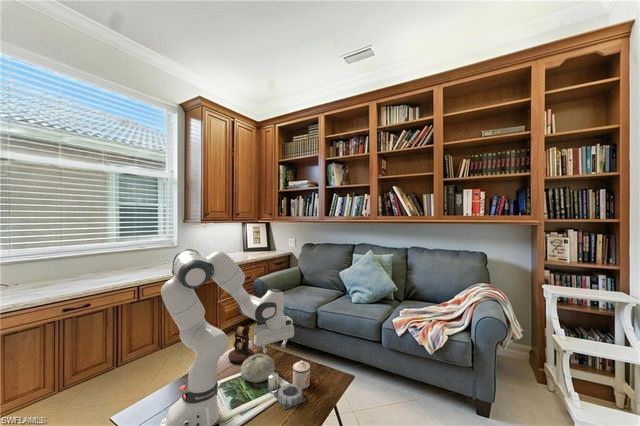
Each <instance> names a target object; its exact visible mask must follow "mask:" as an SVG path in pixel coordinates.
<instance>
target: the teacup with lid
mask: <svg viewBox="0 0 640 426" xmlns="http://www.w3.org/2000/svg"><path fill="white" fill-rule="evenodd" d="M310 380H311V365H310V363H308V362H306V361H304V360H300V361H298V362H295V363H293V365H292V384H296V385H299V386H300V387H301V388H302V390H304V389H307V388H308V387H309V386H310Z"/></svg>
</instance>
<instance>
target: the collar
mask: <svg viewBox="0 0 640 426" xmlns="http://www.w3.org/2000/svg"><path fill="white" fill-rule="evenodd" d="M277 394H278V395H276V394H275V395H276V397H275V398H276V400H277V401H278V403H279V404H280V406H281V407H282V408H283V410H284V411H286V410H288V409H291V408H293V407H296V406H298V405H300V404H302V403H305V402H307V399H306V398H305V397H304V395H303V389H302V388H301V387H300V386H299V385H296V384H293V383H287V384H284V385H282V386H281V387H279V388H278V392H277Z"/></svg>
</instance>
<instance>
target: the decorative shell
mask: <svg viewBox="0 0 640 426" xmlns="http://www.w3.org/2000/svg"><path fill="white" fill-rule="evenodd" d="M275 369H276V366H275V361H274V359H273V358H272V357H271V356H269V355H267V354H266V353H264V354H263V353H257V354H254V355H252V356H250V357H249V358H247V359H246V360H245V361H244V362H242V363H241V367H240V376H241V378H242V379H243V380H245V381H247V382H250V383H254V384H255V383H256V384H257V383H261V382H265V381H268V375H269V374H270V373H275Z"/></svg>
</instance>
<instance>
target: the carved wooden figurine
mask: <svg viewBox="0 0 640 426" xmlns="http://www.w3.org/2000/svg"><path fill="white" fill-rule="evenodd" d="M249 334H250V326H249V325H245V326H243V324H242V323H241V322H238V323H237V324H235V326H234V338H235V339H234V342H233V348H234V349H232V350H231V351H230V352H229V353H228V356H227V357H228V361H230V362H232V363H238V364H240V365H242V363H243V362H244V361H245V360H246V359H247V358H249V357H250V356H252V355H255V352H254V350H253V349H252V348H250V337H249V336H250V335H249Z"/></svg>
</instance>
